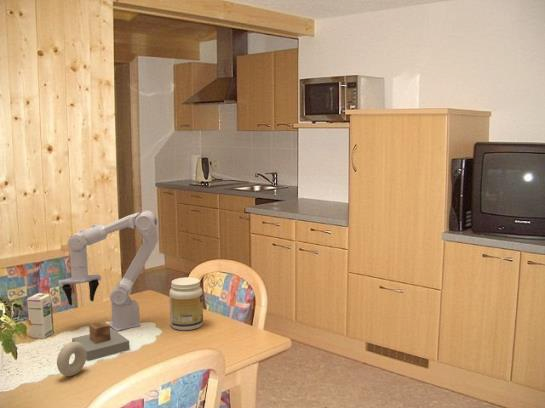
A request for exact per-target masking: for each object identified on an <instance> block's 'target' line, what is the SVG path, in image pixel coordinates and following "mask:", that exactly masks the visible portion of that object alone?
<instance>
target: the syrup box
mask: <svg viewBox="0 0 545 408" xmlns="http://www.w3.org/2000/svg"><path fill="white" fill-rule="evenodd" d="M26 301H27V313H28V321H29V320H30V321H31V323H32V324H33V326H30V325H29V324H28V328H29V337H30V338H33V339H44V340H45V339H46V338H47V337H49V336H50V335H52V334H54V332H55V330H54V329H55V328H54V327H55V326H54V317H53V316H54V315H53V305H52V294H51V293H44V292H43V293H36V294H34V295H32V296H30V297H27V299H26Z"/></svg>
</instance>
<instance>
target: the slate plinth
mask: <svg viewBox="0 0 545 408" xmlns="http://www.w3.org/2000/svg"><path fill="white" fill-rule="evenodd" d="M71 342H79V343H81V344H82V345H83V346H84V347H85V349H86V353H87V355H86V362H87V361H92V360H96V359H99V358H102V357H107V356H111V355H114V354H118V353H122V352H126V351H129V350H130V349H131V347H130V340H129V339H127V338H126V337H125V336H123V335H122V334H121V333H119V332H118V331H116V330H114V329H113V328H110V340H108V341H104V342H100V343H94V342H93V341H92V340H91V339H90V333H89V334H88V333H87V334H84V335H80V336H76V337H72V338H71Z"/></svg>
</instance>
